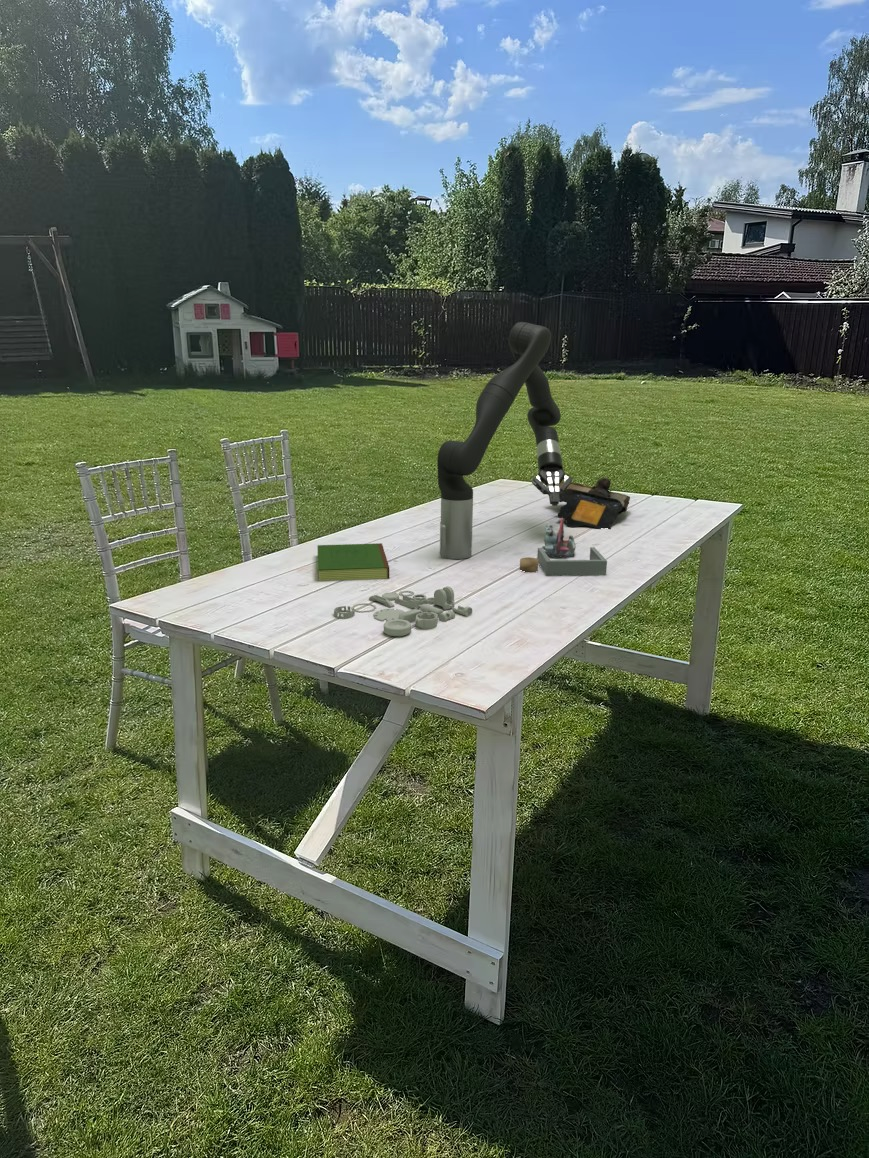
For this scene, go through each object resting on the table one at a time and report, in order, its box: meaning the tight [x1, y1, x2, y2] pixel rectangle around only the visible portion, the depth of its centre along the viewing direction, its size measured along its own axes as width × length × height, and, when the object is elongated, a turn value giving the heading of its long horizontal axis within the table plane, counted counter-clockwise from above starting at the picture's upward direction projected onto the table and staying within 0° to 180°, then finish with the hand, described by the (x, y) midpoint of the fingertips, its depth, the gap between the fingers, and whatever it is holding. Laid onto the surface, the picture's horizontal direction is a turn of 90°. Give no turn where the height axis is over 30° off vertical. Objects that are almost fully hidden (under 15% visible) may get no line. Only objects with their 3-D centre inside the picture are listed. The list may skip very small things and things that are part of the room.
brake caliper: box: [541, 518, 577, 558], centre depth 231 cm, size 11×11×12 cm
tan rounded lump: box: [519, 556, 539, 573], centre depth 216 cm, size 5×5×3 cm
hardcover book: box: [317, 542, 390, 582], centre depth 218 cm, size 25×19×4 cm
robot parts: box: [333, 586, 473, 637], centre depth 183 cm, size 25×25×5 cm
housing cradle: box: [536, 546, 608, 577], centre depth 218 cm, size 16×14×4 cm
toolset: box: [553, 477, 631, 530], centre depth 278 cm, size 40×20×27 cm
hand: (555, 504), depth 239 cm, fingers closed
